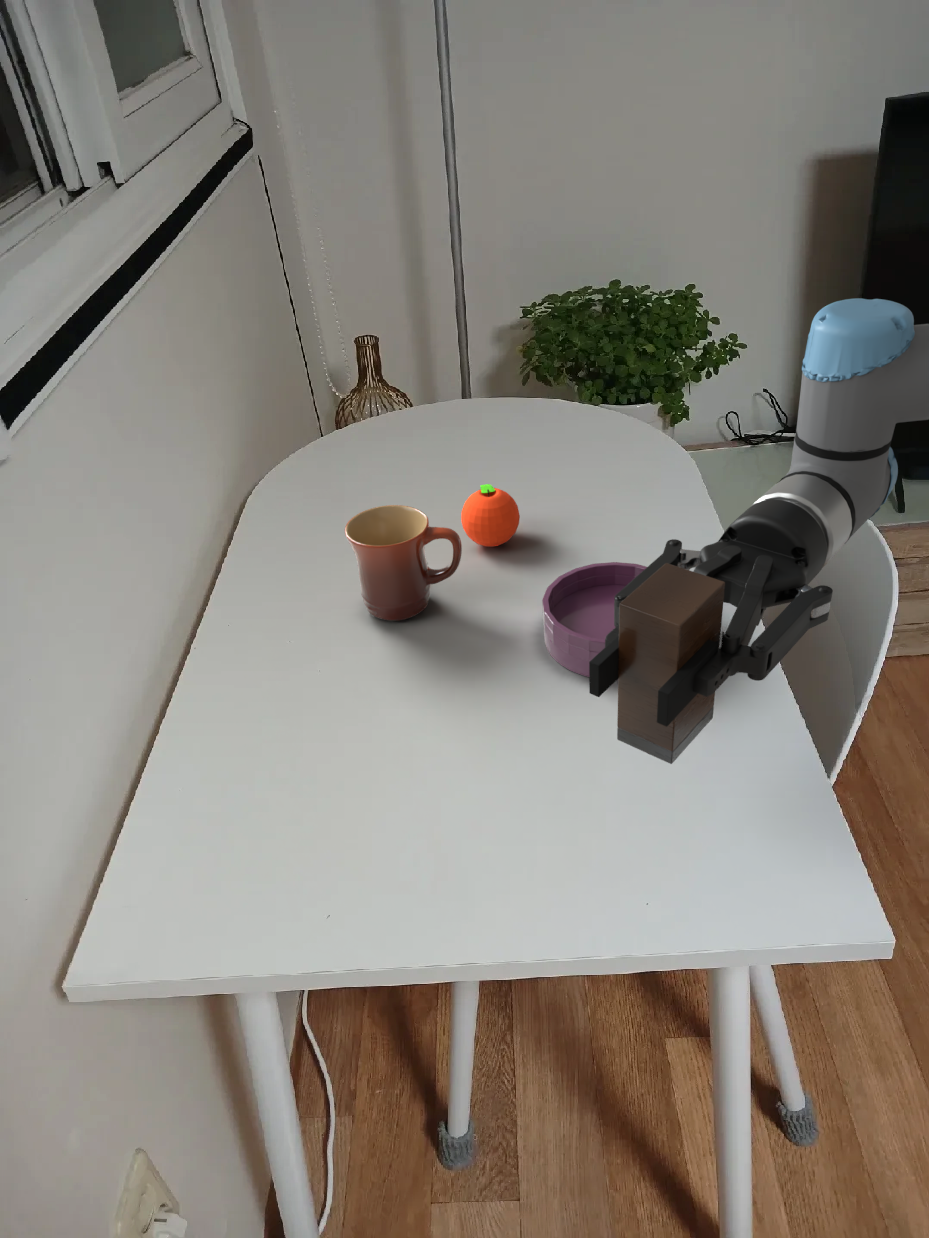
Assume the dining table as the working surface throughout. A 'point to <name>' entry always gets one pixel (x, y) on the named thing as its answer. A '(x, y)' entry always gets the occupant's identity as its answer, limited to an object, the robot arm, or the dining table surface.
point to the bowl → (583, 611)
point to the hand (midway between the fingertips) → (628, 693)
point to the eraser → (664, 656)
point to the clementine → (490, 516)
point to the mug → (397, 559)
